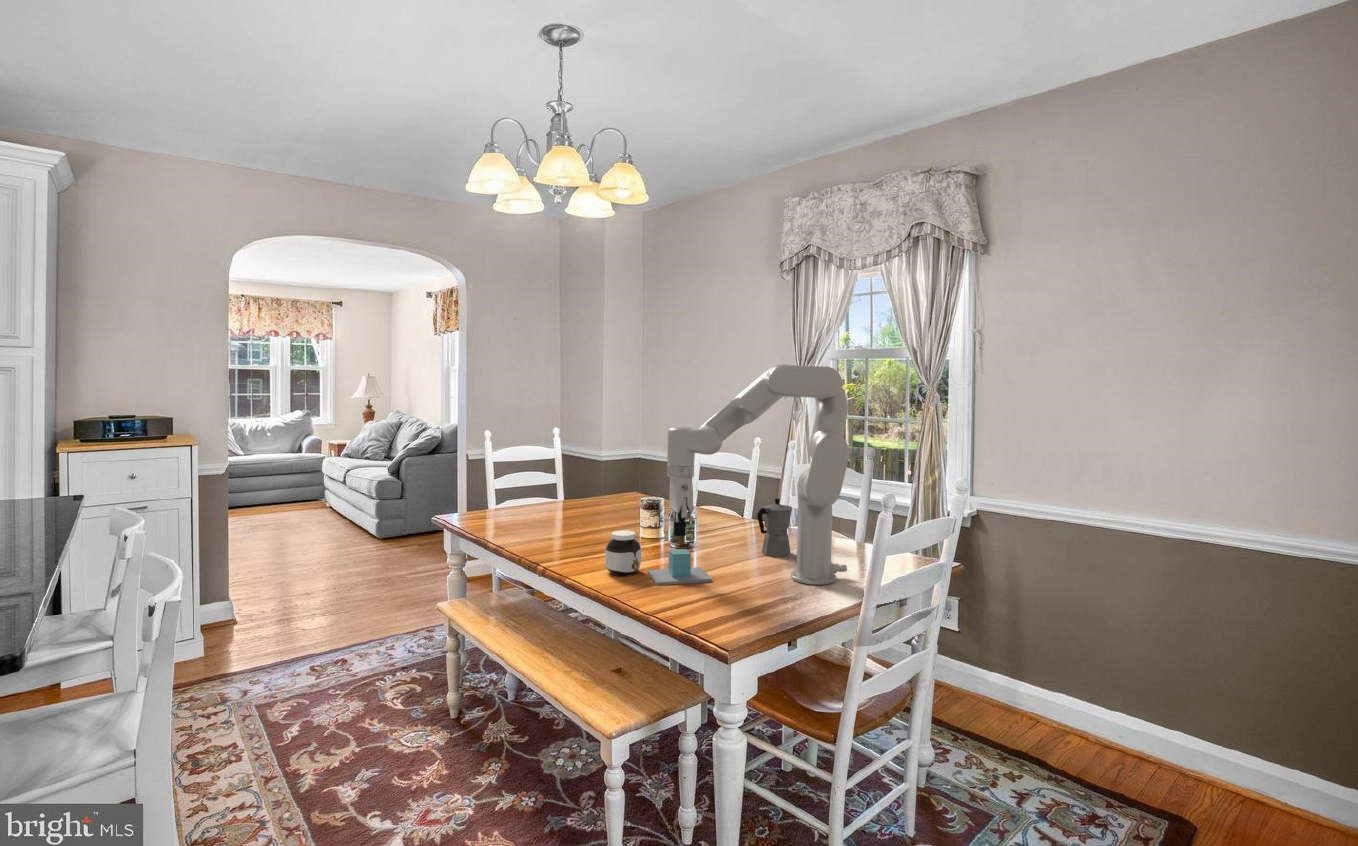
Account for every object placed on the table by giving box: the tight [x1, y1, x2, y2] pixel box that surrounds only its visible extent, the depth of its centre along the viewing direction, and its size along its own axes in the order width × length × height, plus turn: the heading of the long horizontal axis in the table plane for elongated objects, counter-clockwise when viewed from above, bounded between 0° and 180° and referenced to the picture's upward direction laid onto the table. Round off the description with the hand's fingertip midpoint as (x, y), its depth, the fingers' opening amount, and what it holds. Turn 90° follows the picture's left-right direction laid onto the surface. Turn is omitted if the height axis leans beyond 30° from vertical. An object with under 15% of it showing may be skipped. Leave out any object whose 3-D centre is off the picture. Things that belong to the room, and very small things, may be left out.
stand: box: [647, 566, 713, 586], centre depth 199 cm, size 16×12×6 cm
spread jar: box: [604, 530, 642, 577], centre depth 205 cm, size 12×11×12 cm
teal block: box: [667, 548, 692, 578], centre depth 199 cm, size 5×5×7 cm
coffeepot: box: [756, 497, 793, 558], centre depth 226 cm, size 15×9×18 cm, turn 129°
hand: (679, 535), depth 199 cm, fingers closed
